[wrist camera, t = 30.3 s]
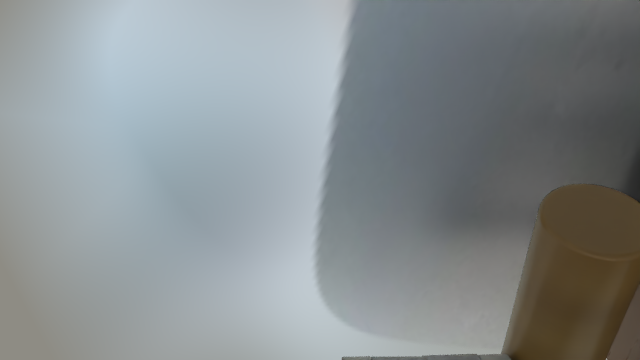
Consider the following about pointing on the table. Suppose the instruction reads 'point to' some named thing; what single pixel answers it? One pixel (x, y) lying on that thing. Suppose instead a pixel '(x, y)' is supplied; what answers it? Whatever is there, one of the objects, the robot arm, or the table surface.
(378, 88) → the table surface
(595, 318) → the drawer
